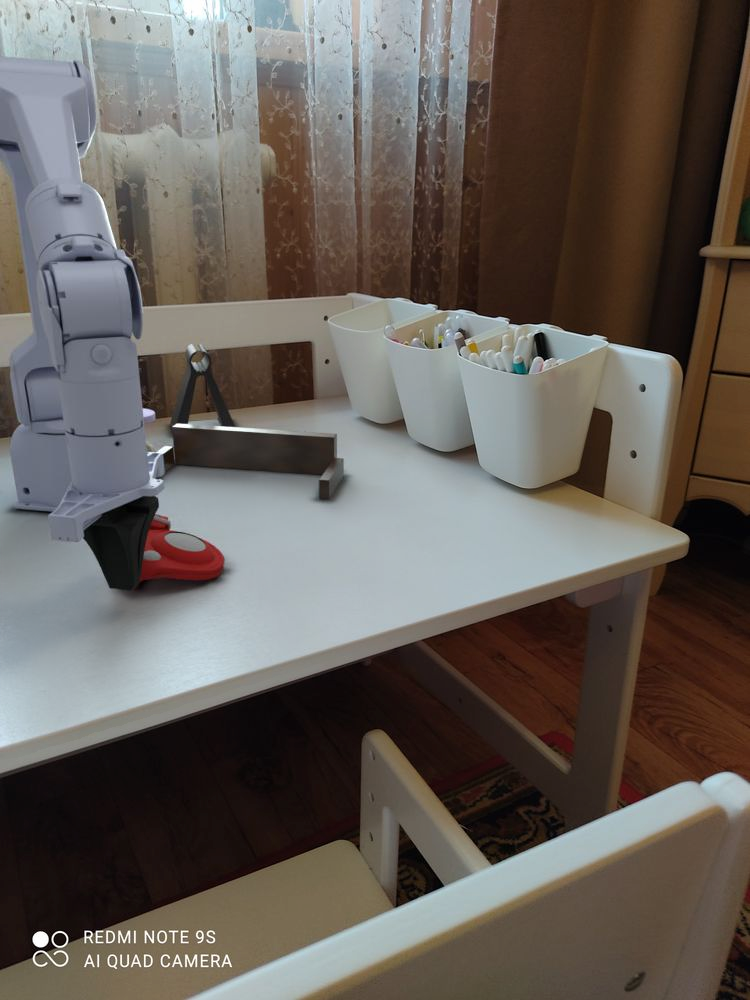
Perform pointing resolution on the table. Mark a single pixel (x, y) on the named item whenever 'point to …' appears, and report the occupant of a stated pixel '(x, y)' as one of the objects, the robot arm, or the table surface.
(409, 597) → the table surface
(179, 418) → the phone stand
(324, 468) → the footed wooden plank
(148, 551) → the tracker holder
